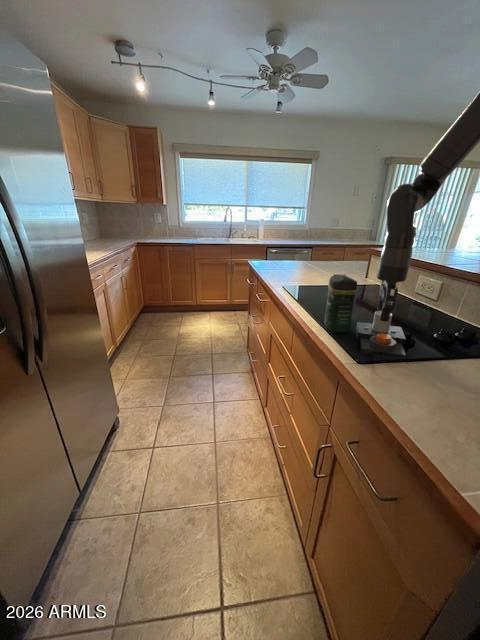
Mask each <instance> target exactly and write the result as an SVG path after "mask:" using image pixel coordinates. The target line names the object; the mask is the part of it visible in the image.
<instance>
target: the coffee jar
mask: <svg viewBox="0 0 480 640" xmlns="http://www.w3.org/2000/svg"><path fill="white" fill-rule="evenodd" d="M327 290H328V291H327V300H326V307H325V312H324V321H323V324H324V327H325V328H326V329H327V331H329V332H331V333H337V334H345V333H348V332H350V331H351V327H352V318H353V311H354V305H355V299H356V295H357V291H358V281H357V280H355V279H354V278H352V277H350V276H349V275H347V274H341V273H339V274H338V273H337V274H335V273H334V274H333V275H332V276H331V277H329V281H328V289H327Z"/></svg>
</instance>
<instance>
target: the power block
mask: <svg viewBox="0 0 480 640" xmlns="http://www.w3.org/2000/svg"><path fill="white" fill-rule="evenodd" d="M376 338H377V335H376V336H372V337H371V338H370V339H366V338H361V341H360V342H359V345H360V354H363V355H369V356H374V353H375V352H376V353H382V354H388V355H394V356H402V357H406V356H407V354H406V352H405V349H404V346H403V344H402V343H396V341H395V340H394V339H392V338H391V341H390V344H383V343H379V342H377V341H376ZM373 352H374V353H373Z"/></svg>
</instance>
